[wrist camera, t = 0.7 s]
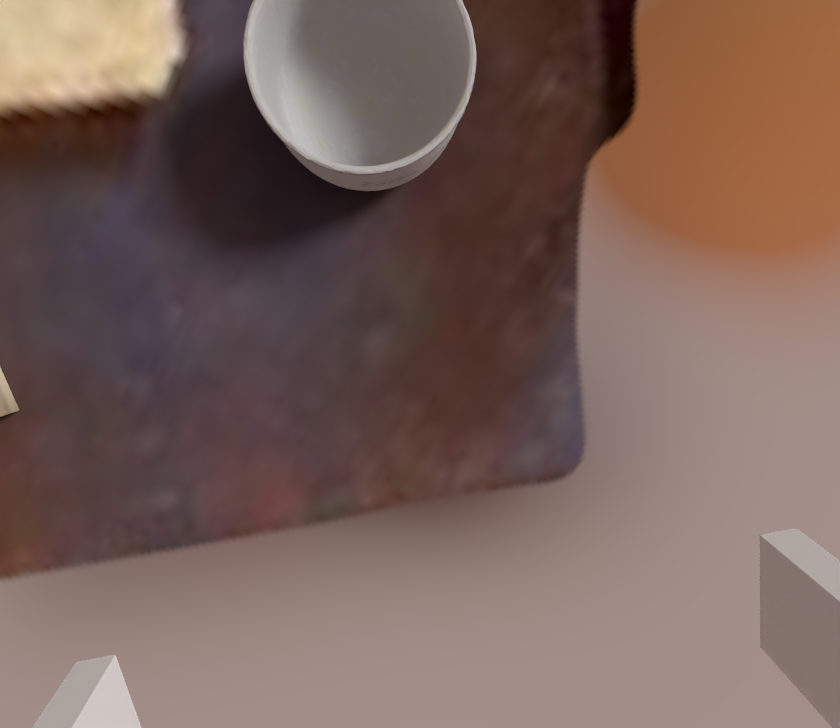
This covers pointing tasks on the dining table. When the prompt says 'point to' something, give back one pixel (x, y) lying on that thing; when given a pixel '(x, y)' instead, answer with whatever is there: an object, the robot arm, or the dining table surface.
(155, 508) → the dining table surface
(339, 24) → the teacup
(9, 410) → the ring board
